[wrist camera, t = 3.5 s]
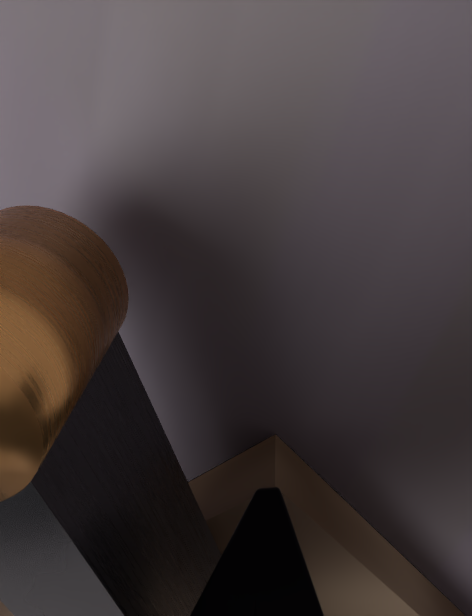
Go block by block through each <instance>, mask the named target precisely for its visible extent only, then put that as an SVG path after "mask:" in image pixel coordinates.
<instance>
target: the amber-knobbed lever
mask: <svg viewBox="0 0 472 616" xmlns="http://www.w3.org/2000/svg"><path fill="white" fill-rule="evenodd" d="M127 309H128V288H127V283H126V279H125V276H124V273H123V270H122V268H121V266H120V264H119V262H118V260H117V258H116V257H115V255H114V254H113V252H112V251H111V249H110V248H109V247H108V246H107V245H106V243H105V242H104V241H103V240H102V239H101V238H100V237H99V236H98V235H97V234H96V233H95V232H94V231H92V230H91V229H90V228H88V227H87V226H86V225H84V224H83V223H81V222H79V221H78V220H76V219H75V218H73V217H70V216H68V215H66V214H64V213H62V212H59V211H56V210H53V209H49V208H44V207H39V206H15V207H10V208H5V209H3V210H0V601H1V602H2V603H3V604H4V605H5V606H6V607H7V608H8V609H9V611H10V612H11V613H12V614H13V615H14V616H190V614H191V613H192V611H193V609H194V607H195V605H196V603H197V601H198V599H199V597H200V595H201V594H202V592H203V590H204V588H205V586H206V584H207V582H208V580H209V578H210V576H211V575H212V573H213V571H214V569H215V567H216V565H217V563H218V561H219V559H220V557H221V556H222V555H221V553H220V551H219V549H218V547H217V545H216V542H215V540H214V538H213V536H212V534H211V532H210V529H209V527H208V525H207V523H206V521H205V519H204V516H203V514H202V512H201V510H200V508H199V506H198V503H197V501H196V499H195V497H194V495H193V493H192V490H191V488H190V486H189V484H188V482H187V480H186V477H185V475H184V473H183V471H182V469H181V467H180V464H179V462H178V460H177V458H176V456H175V454H174V451H173V449H172V447H171V445H170V443H169V441H168V438H167V436H166V434H165V432H164V430H163V428H162V425H161V423H160V421H159V419H158V417H157V414H156V412H155V410H154V408H153V406H152V404H151V401H150V399H149V397H148V395H147V393H146V391H145V388H144V386H143V384H142V382H141V380H140V378H139V375H138V373H137V371H136V369H135V367H134V365H133V362H132V360H131V358H130V356H129V354H128V352H127V349H126V347H125V345H124V343H123V341H122V339H121V336H120V334H119V332H118V331H119V329H120V328H121V326H122V324H123V322H124V319H125V317H126V313H127Z"/></svg>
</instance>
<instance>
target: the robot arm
mask: <svg viewBox="0 0 472 616" xmlns="http://www.w3.org/2000/svg"><path fill="white" fill-rule="evenodd" d="M190 616H324V614H323V611H322V608H321V605H320V602H319V599H318V596H317V593H316V591H315V588H314V585H313V582H312V579H311V576H310V573H309V570H308V567H307V565H306V562H305V559H304V556H303V553H302V550H301V547H300V544H299V541H298V539H297V536H296V533H295V530H294V527H293V524H292V521H291V518H290V516H289V513H288V510H287V507H286V504H285V501H284V498H283V495H282V492H281V490H280V488H278V487H269V488H259V489H257V490H256V491H255V493H254V495H253V497H252V498H251V500H250V502H249V504H248V506H247V508H246V510H245V512H244V514H243V516H242V517H241V519H240V521H239V523H238V525H237V527H236V529H235V531H234V533H233V535H232V536H231V538H230V540H229V542H228V544H227V546H226V548H225V550H224V552H223V554H222V556H221V557H220V559H219V561H218V563H217V565H216V567H215V569H214V571H213V573H212V575H211V576H210V578H209V580H208V582H207V584H206V586H205V588H204V590H203V592H202V594H201V595H200V597H199V599H198V601H197V603H196V605H195V607H194V609H193V611H192V613H191V614H190Z"/></svg>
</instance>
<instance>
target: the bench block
mask: <svg viewBox="0 0 472 616" xmlns="http://www.w3.org/2000/svg"><path fill="white" fill-rule="evenodd" d="M188 484H189V486H190V488H191V490H192V493H193V495H194V497H195V499H196V501H197V503H198V506H199V508H200V510H201V512H202V514H203V516H204V519H205V521H206V523H207V525H208V527H209V529H210V532H211V534H212V536H213V538H214V540H215V542H216V545H217V547H218V549H219V551H220V553H221V555H222V554H223V552H224V550H225V548H226V546H227V544H228V542H229V540H230V538H231V536H232V535H233V533H234V531H235V529H236V527H237V525H238V523H239V521H240V519H241V517H242V516H243V514H244V512H245V510H246V508H247V506H248V504H249V502H250V500H251V498H252V497H253V495H254V493H255V491H256V490H257V489H259V488H269V487H278V488H280V490H281V492H282V495H283V498H284V501H285V504H286V507H287V510H288V513H289V516H290V518H291V521H292V524H293V527H294V530H295V533H296V536H297V539H298V541H299V544H300V547H301V550H302V553H303V556H304V559H305V562H306V565H307V567H308V570H309V573H310V576H311V579H312V582H313V585H314V588H315V591H316V593H317V596H318V599H319V602H320V605H321V608H322V611H323V614H324V616H465V615H464V614H463V613H462V612H461V611H460V610H459V609H458V608H457V607H456V606H455V605H454V604H452V603H451V602H450V601H449V600H448V599H447V598H446V597H445V596H444V595H443V594H442V593H441V592H440V591H439V590H438V589H437V588H436V587H435V586H434V585H433V584H432V583H430V582H429V581H428V580H427V579H426V578H425V577H424V576H423V575H422V574H421V573H420V572H419V571H418V570H417V569H416V568H415V567H414V566H413V565H412V564H411V563H410V562H409V561H407V560H406V559H405V558H404V557H403V556H402V555H401V554H400V553H399V552H398V551H397V550H396V549H395V548H394V547H393V546H392V545H391V544H390V543H389V542H388V541H387V540H385V539H384V538H383V537H382V536H381V535H380V534H379V533H378V532H377V531H376V530H375V529H374V528H373V527H372V526H371V525H370V524H369V523H368V522H367V521H366V520H365V519H364V518H362V517H361V516H360V515H359V514H358V513H357V512H356V511H355V510H354V509H353V508H352V507H351V506H350V505H349V504H348V503H347V502H346V501H345V500H344V499H343V498H342V497H341V496H339V495H338V494H337V493H336V492H335V491H334V490H333V489H332V488H331V487H330V486H329V485H328V484H327V483H326V482H325V481H324V480H323V479H322V478H321V477H320V476H319V475H317V474H316V473H315V472H314V471H313V470H312V469H311V468H310V467H309V466H308V465H307V464H306V463H305V462H304V461H303V460H302V459H301V458H300V457H299V456H298V455H297V454H296V453H294V452H293V451H292V450H291V449H290V448H289V447H288V446H287V445H286V444H285V443H284V442H283V441H282V440H281V439H280V438H279V437H278V436H277V435H276V434H275V435H273V436H272V437H270V438H268V439H266V440H264V441H262V442H261V443H259V444H257V445H255V446H253V447H252V448H250V449H248V450H246V451H244V452H243V453H241V454H239V455H237V456H235V457H233V458H232V459H230V460H228V461H226V462H224V463H223V464H221V465H219V466H217V467H215V468H213V469H212V470H210V471H208V472H206V473H204V474H203V475H201V476H199V477H197V478H195V479H194V480H192V481H190V482H188ZM0 616H14V615H13V614H12V613H11V612H10V611H9V609H8V608H7V607H6V606H5V605H4V604H3V603H2V602H1V601H0Z"/></svg>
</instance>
